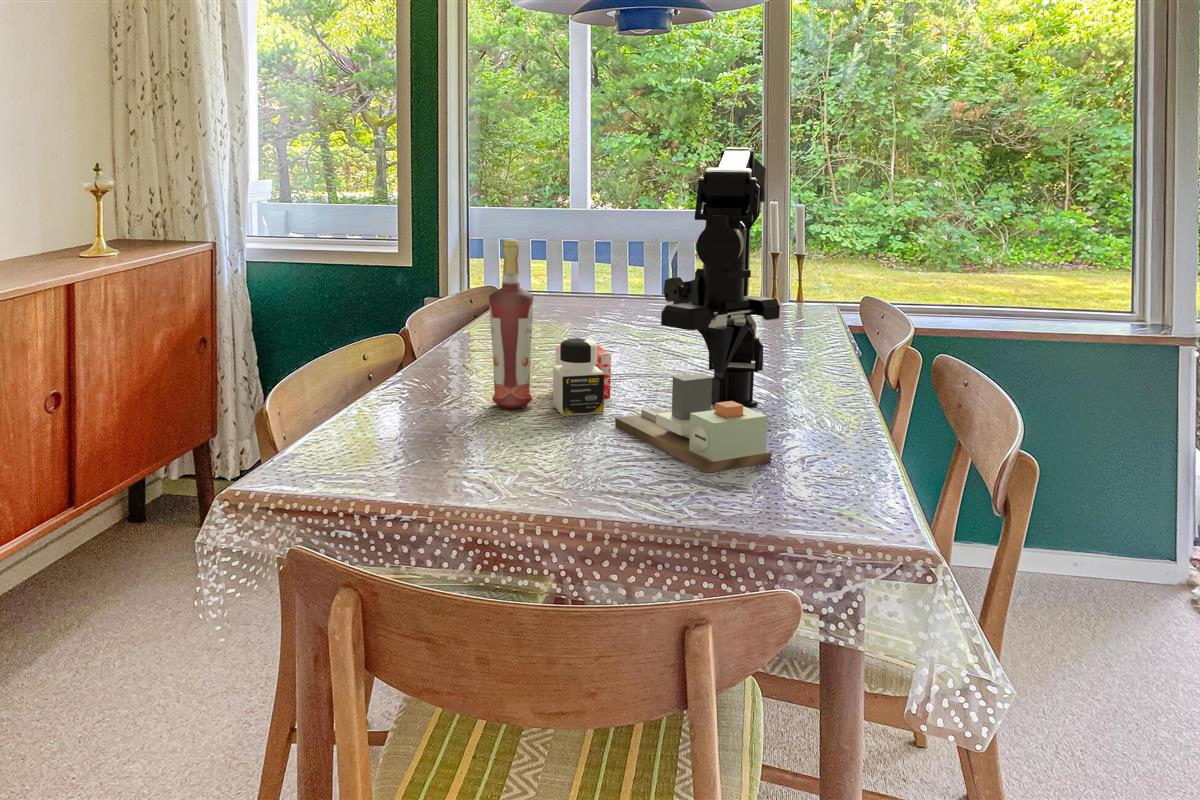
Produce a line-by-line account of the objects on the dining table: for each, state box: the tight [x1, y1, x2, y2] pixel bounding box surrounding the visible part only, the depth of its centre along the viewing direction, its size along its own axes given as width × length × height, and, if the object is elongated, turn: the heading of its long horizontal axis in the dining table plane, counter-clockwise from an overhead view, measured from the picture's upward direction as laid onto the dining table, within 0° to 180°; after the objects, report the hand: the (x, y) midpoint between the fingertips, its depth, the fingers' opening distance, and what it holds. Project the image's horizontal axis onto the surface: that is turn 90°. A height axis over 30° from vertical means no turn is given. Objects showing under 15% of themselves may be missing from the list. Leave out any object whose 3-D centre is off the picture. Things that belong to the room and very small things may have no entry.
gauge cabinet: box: [689, 406, 769, 462], centre depth 149 cm, size 9×6×6 cm, turn 118°
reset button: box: [714, 401, 743, 419], centre depth 148 cm, size 3×3×4 cm
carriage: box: [656, 372, 713, 439], centre depth 156 cm, size 8×7×8 cm
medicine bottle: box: [552, 337, 605, 417], centre depth 175 cm, size 7×7×12 cm
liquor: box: [488, 239, 534, 411], centre depth 175 cm, size 7×7×28 cm
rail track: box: [614, 407, 772, 474], centre depth 158 cm, size 11×26×2 cm, turn 28°
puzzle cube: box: [555, 344, 612, 399], centre depth 187 cm, size 8×8×8 cm
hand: (719, 372), depth 148 cm, fingers closed
